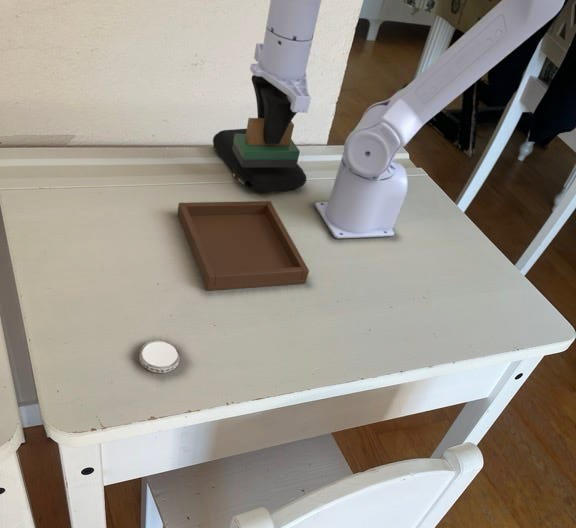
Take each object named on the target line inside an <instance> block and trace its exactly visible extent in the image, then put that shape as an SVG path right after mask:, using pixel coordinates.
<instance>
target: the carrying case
mask: <svg viewBox="0 0 576 528" xmlns="http://www.w3.org/2000/svg"><path fill="white" fill-rule="evenodd" d="M246 131H247V128H235V129H223V130H220V131H218V132H217V133H216V134H215V135H214V136H213V138H212V144H213V145H212V146H213V148H214V149H215V150H216V152H217V153H218V154H219V155H220V156H221V157H222V159H223V160H224V161H225V162H226V164H227V165H228V166H229V167H230V168H231V170H232V172H231V176H232V178H233V179H234V180H236V181H238V182H239V183H241V185H243V186H244V187H246V188H249V189H250V191H252V192H253V193H255V194H261V195H262V194H271V193H278V192H287V191H294V190H298V189H299V188H302V187H304V186H305V184H306V183H307V175H306V173H305V172H304V170H303V168H302V167H301V166H300V165H299V164H298V163H297V165H296V167H242V166H241V164H240V163H239V161H238V159H237V157H236V155H235V154H234V152H233V150H232V148H233V142H234V135H235V134H246Z"/></svg>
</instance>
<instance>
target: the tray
mask: <svg viewBox="0 0 576 528" xmlns="http://www.w3.org/2000/svg"><path fill="white" fill-rule="evenodd" d="M177 219H178V221H179V224H180V226H181V229H182V232H183V234H184V237H185V239H186V241H187V244H188V246H189V249H190V252H191V255H192V256H193V259H194V262H195V264H196V266H197V269H198V272H199V274H200V276H201V279H202V281H203V284H204V286H205V289H206V291H208V292H210V291H223V290H236V289H248V288H250V289H251V288H263V287H264V288H265V287H275V286H276V287H277V286H289V285H290V286H291V285H302V284H303V285H304V284H306V282H307V278H308V276H309V272H310V270H309V268H308V266H307V264H306V262H305V261H304V259H303V257H302V255H301V254H300V252H299V250H298V248H297V246H296V244H295V243H294V241H293V239H292V237H291V236H290V234H289V232H288V230H287V228H286V227H285V225H284V222H283V221H282V220H281V218H280V216H279V213H277V211H276V209H275V206H274V205H273V203H272V202H271V200H258V201H257V200H255V201H254V200H252V201H250V200H249V201H247V200H246V201H200V202H195V201H194V202H178V208H177Z"/></svg>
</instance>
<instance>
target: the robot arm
mask: <svg viewBox="0 0 576 528" xmlns="http://www.w3.org/2000/svg"><path fill="white" fill-rule="evenodd" d="M565 2H566V0H501V1H499V3H497V4H496V5H494V7H493V8H492V9H491V10H489V11H488V12H487V13H485V15H484V16H482V17H481V18H480V19H479V20H478V21H477V22H476V23H475V24H474V25H473V26H471V27H470V29H468V30H467V31H466V32H465V33H464V34H463V35H462V36H461V37H460V38H458V39H457V40H456V41H455V42H454V43H453V44H451V46H449V48H447V49H446V50H445V51H444V52H443V53H442V54H440V56H438V57H437V58H436V59H435V60H433V62H432V63H430V65H428V66H427V67H426V68H425V69H424V70H423V71H422V72H421V73H420V74H419V75H418V76H416V77H415V78H414V79H413V80H412V81H411V82H409V83H408V85H406V86H405V87H403V88H401V89H399V90H398V91H396V92H395V93H394V94H393V95H392V96H391V97H389V98H387V99H386V100H383V101H379V102H376V103H373V104H372V105H370V106H369V107H368V108H367V109H366V110H365V111H364V112H363V115H362V116H361V119H360V120H359V122H358V123H357V125H356V127H355V128H354V129H353V131H351V132H350V133H349V135H348V136H347V138H346V139H345V142H344V145H343V152H342V155H341V158H340V163H339V165H338V169H337V172H336V175H335V178H334V181H333V182H334V183H333V186H332V190H331V193H330V195H329V199H328V201H317V202H315V205H314V207H315V208H316V210H317V212H318V214H319V215H320V216H321V218H322V220H323V222H324V223H325V224H326V226H327V228H328V229H329V231H330V232H331V234H332V235H333V237H334V238H335V239H356V238H357V239H358V238H377V237H380V238H381V237H382V238H383V237H393V236H394V235H395V231H394V230H393V228H394V226H395V223H396V220H397V218H398V216H399V213H400V211H401V208H402V206H403V203H404V201H405V198H406V195H407V191H408V186H409V185H408V182H409V181H408V174H407V171H406V169H405V167H404V166H403V164H401V163H399V162H396V159H395V156H396V154H397V153H398V152H399V151H400V150H401V149H402V148H404V147H405V146H406V145H407V144H408V143H409V142H410V141H411V140H412V139H413V137H414V136H415V135H416V134H417V133H418V132H419V130H421V128H423V126H424V125H425V124H426V123H427V122H429V121H430V120H431V119H433V118H434V117H435V116H436V115H437V114H439V113H440V112H441V111H443V109H444V108H446V107H447V106H448V105H450V104H451V103H452V102H453V101H454V100H455V99H457V98H458V97H459V96H460V95H461V94H463V93H464V92H465V91H466V90H467V89H469V88H470V87H471V86H472V85H473V84H475V83H476V82H477V81H478V80H480V78H482V77H483V76H484V75H486V74H487V73H488V72H489V71H490V70H491V69H492V68H494V67H496V66H497V65H498V64H499V63H500V62H502V61H503V59H505V58H506V57H507V56H508V55H510V54H511V53H512V52H513V51H515V50H516V49H517V48H518V47H520V46H521V45H522V44H523V43H524V42H525V41H526V40H528V39H529V38H530V37H532V35H534V34H535V33H536V32H537V31H538V30H540V29H541V28H542V27H544V26H545V25H546V24H547V23H548V22H549V21H551V20H552V19H553V18H554V17H556V16H557V14H558V13H559V12H560V11H561V9H562V8H563V6H564V3H565ZM321 3H322V0H270V2H269V8H268V13H267V20H266V25H265V32H264V37H263V43H259V42H256V44H255V49H254V56H253V59H254V60H255V61H256V62H257V63H251V64H250V66H249V67H250V68H249V70H250V72H251V73H252V76H251V82H252V86H253V90H254V94H255V100H256V109H257V111H256V112H257V118H264V133H263V134H264V142H265V143H266V144H279V143H280V141H281V139H282V137H283V135H284V133H285V131H286V129H287V127H288V125H289V124H290V122H291V121H292V120H293V119H294V118H295V116H296V115H297V114H298V113H304V114H306V113H308V112H309V107H310V104H311V99H312V97H311V95H310V94H309V89H308V78H307V77H308V76H307V72H306V71H307V67H308V62H309V57H310V53H311V49H312V44H313V39H314V34H315V31H316V26H317V21H318V18H319V12H320V7H321Z"/></svg>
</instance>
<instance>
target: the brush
mask: <svg viewBox="0 0 576 528" xmlns="http://www.w3.org/2000/svg"><path fill="white" fill-rule="evenodd" d="M247 119H248V120H247V124H246V129H247V131H246V134H235V135H234V142H233V148H232V150H233V152H234V154H235V155H236V157H237V159H238V161H239V163H240V164H241V166H242V167H296V165H297V164H298V161H299V157H300V154H301V151H300V149H299V148H298V147H297V145H296V144H295V142H294V140H293V139H292V137H293V132H294V127H295V124H294V122H293V121H292V120H291V122H290V124H289V125H288V127H287V129H286V131H285V133H284V135H283V137H282V139H281V141H280V143H279V144H266V143H265V142H264V134H263V133H264V118H258V117H248V118H247Z"/></svg>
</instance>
